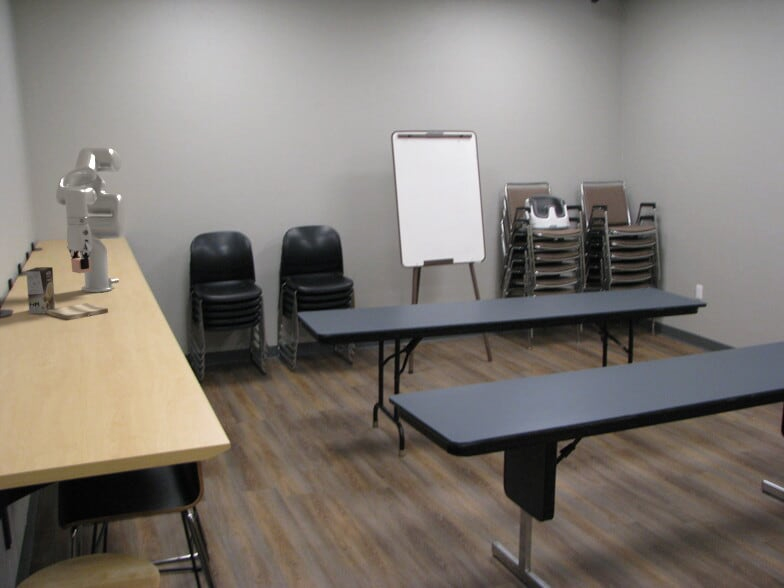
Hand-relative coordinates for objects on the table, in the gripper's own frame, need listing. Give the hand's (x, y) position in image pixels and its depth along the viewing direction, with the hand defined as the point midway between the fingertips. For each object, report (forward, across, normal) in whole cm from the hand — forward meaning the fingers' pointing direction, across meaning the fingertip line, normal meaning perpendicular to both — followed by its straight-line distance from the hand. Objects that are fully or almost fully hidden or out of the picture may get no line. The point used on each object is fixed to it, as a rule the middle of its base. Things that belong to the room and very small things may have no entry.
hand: (80, 267), depth 285 cm
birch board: (+14, -12, +10) cm, 21 cm away
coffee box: (+15, +1, +16) cm, 22 cm away
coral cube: (+2, 0, 0) cm, 2 cm away
